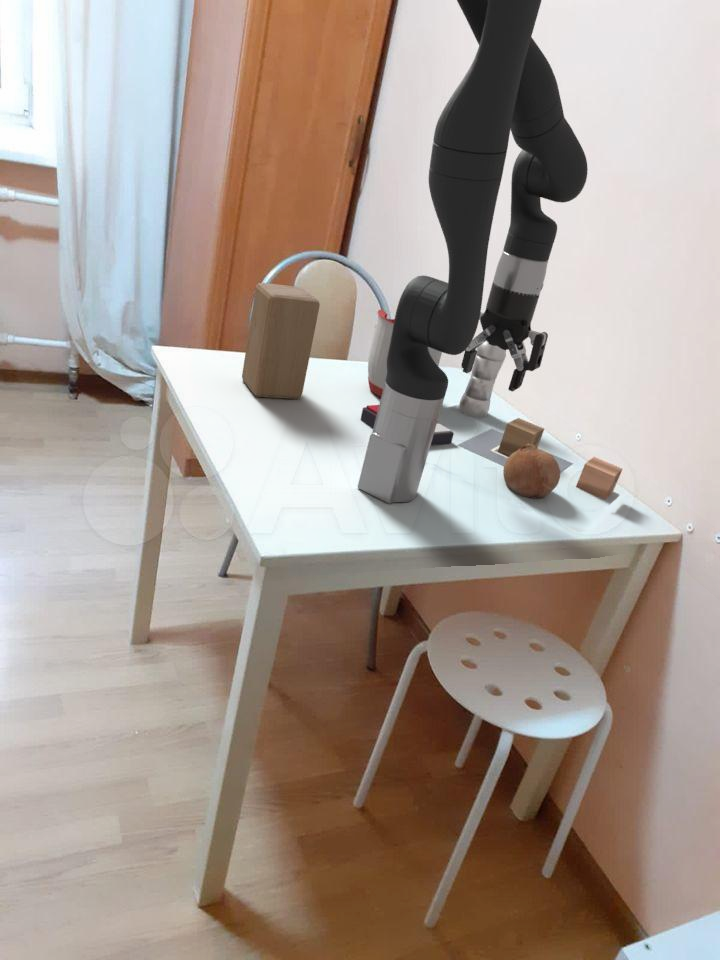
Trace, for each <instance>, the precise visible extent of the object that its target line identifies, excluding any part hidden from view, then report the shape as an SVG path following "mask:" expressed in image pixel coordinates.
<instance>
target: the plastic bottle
mask: <svg viewBox="0 0 720 960" xmlns="http://www.w3.org/2000/svg"><path fill="white" fill-rule="evenodd" d="M476 350H477V353H476V357H475V361H474V364H473V368H472V371H471V374H470V377H469V380H468V383H467V385H466V387H465V391H464V392H463V394H462V396H461V399H460V401H459V405H458V409H459V411H460V412H461V413H463V414H464V415H467V416H470V417H473V418H478V419H479V418H485V417H486V416H487V415H488V413H489V411H490V406H491V398H492V394H493V390H494V386H495V382H496V379H497V377H498V375H499V372H500V370H501V369H502V367H503V363H504V362H505V359H506V357H507V350H503V349H501V348H499V347H498V346H492V345H490V344H489V343H488V342H487V341H486V342H484V343H483V344H481V345H480V346H479V347H477V348H476Z"/></svg>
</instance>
